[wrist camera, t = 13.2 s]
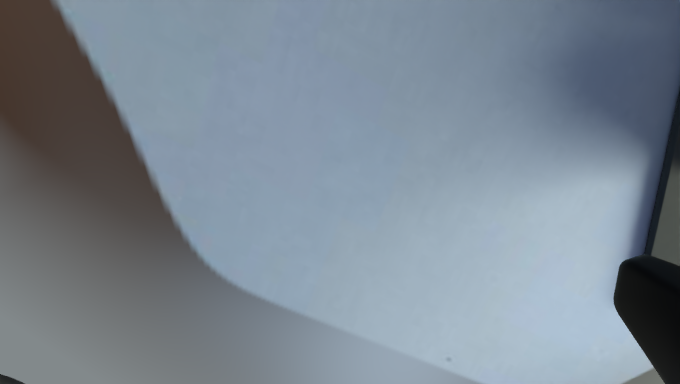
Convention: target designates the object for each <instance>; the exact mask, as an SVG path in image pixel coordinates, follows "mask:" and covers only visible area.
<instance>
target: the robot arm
mask: <svg viewBox="0 0 680 384" xmlns="http://www.w3.org/2000/svg"><path fill="white" fill-rule="evenodd" d="M614 305H615V308H616V310H617V312H618V314H619V316H620V317H621V319H622V320H623V322H624V323H625V325H626V326H627V328H628V329H629V331H630V332H631V334H632V335H633V337H634V338H635V340H636V341H637V343H638V344H639V346H640V347H641V349H642V350H643V351H644V353H645V354H646V356H647V357H648V359H649V360H650V362H651V363H652V365H653V366H654V368H655V369H656V371H657V372H658V374H659V375H660V377H661V378H662V380H663V381H664V383H665V384H680V266H679V265H676V264H673V263H670V262H668V261H665V260H662V259H659V258H656V257H654V256H650V255H640V256H637V257H634V258H630V259H627V260H625V261H623V262H622V263H621V265H620V267H619V271H618V276H617V282H616V287H615V292H614Z"/></svg>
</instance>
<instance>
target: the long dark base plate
mask: <svg viewBox="0 0 680 384" xmlns="http://www.w3.org/2000/svg"><path fill="white" fill-rule="evenodd" d="M644 255H650V256H654V257H656V258H659V259H662V260H665V261H668V262H670V263H673V264H676V265H679V266H680V92H679V97H678V101H677V106H676V111H675V115H674V120H673V124H672V129H671V134H670V138H669V143H668V148H667V152H666V157H665V162H664V166H663V171H662V175H661V180H660V185H659V189H658V194H657V199H656V203H655V208H654V213H653V217H652V222H651V226H650V231H649V236H648V240H647V245H646V250H645V254H644Z"/></svg>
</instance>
